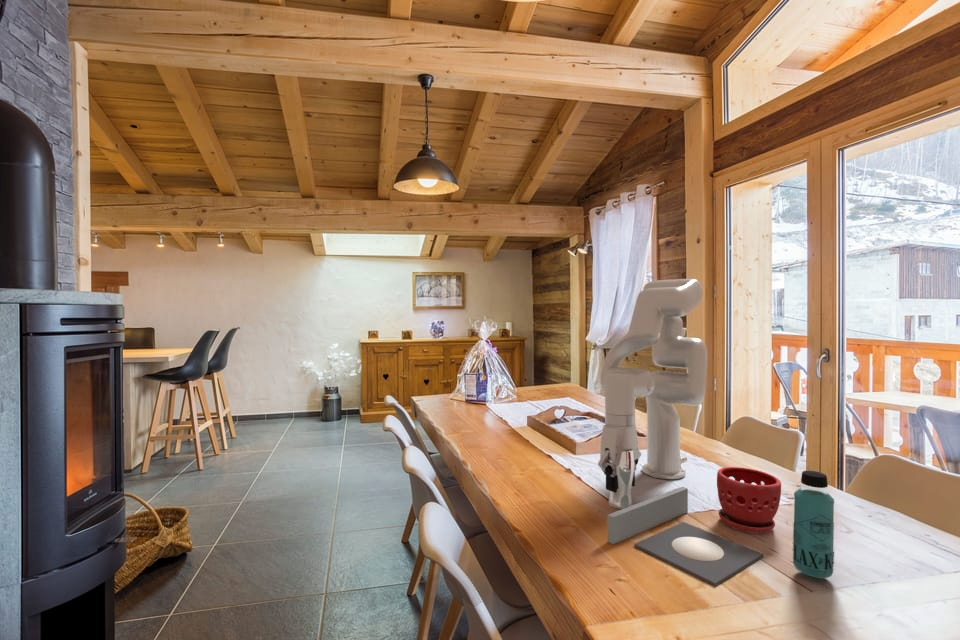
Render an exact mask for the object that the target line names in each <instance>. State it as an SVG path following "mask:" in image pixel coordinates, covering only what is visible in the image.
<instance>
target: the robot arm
mask: <svg viewBox="0 0 960 640" xmlns="http://www.w3.org/2000/svg"><path fill="white" fill-rule="evenodd" d="M703 294H704V293H703V286H702V284H701V283H700V281H698V280H697V279H695V278H680V279H679V278H678V279H657V280H652V281H649V282H647V283H645V284H644V286H643V290H641V291H640V292H639V293H638V294H637V296H636V300H635V304H634V307H633V313H632V316H631V320H630V323H629V328H628V331H627V333H626V334H625V335H624V336H621V338H619V340H617V342H615V343H614V345H613V346H612V347H611V348H610V349H609V350H608V351H607V353H606V355H605V357H604V361H603V365H602V368H601V374H600V386H601V389H602V390H603V391H604V403H605V404H604V411H605V412H604V419H605V420H604V424H603V426H602V430H601V437H600V451H599V453H600V454H599V457H600V459H599V460H598V464H597V465H598V467H599V469H600V470H601V471H602V472H603V474H604V475H605V489H606V491H609V492H610V491H612V492H614V493H615V492H617V477H615V474H616V466H618V465H619V464H620V459H621V454H622V452H624V451H631V450H632V449H633V453H634V475H633V481H632V487H635V486H636V479H635V478H636V476H635V475H636V471H637V465H638V463H639V461H640V458H641V456H642V452H641V451H640V450H639V441H638V431H637V426H636V398H645V402H646V416H647V417H646V421H647V422H646V423H647V424H646V429H647V430H646V433H647V434H646V438H647V439H646V441H647V443H646V446H647V447H646V452H647V453H646V454H647V455H646V457H647V463H644V464H643V465H642V467H641V468H642V469H641V470H642V472H643V473H644V474H645V475H647V476H650V477H653V478H657V479H661V480H679V479H682V478H684V477H685V476H686V475H687V473H686V470H685V469H684V467H682V464H684V463H687V462H688V458H687V456H686V455H682V456H681V426H680V425H681V419H680V414H679V412H678V410H677V408H676V407H675V404H676V405H684V406H691V407H692V406H694V407H695V406H699V405H701V404H702V403H703V402H704V399H705V396H706V385H707V372H708V371H707V369H708V349H707V345H706V343H705V341H703V340H702V339H700V338H697V337H683V332H684V331H683V327H684V323H683V322H684V321H683V319H682V317H685V316H686V315H689V314H690V313H691V312H692V311H693V310H694V309H696V308H697V307H698V306H699V304H700V303H701V301H702V299H703ZM649 347H651V359H652V360H651V361H652V363H653V364H654V365H655V366H658V367H661V368H674V369H683V370H685V369H686V370H687V372H676V371H666V370H665V371H664V370H663V371H662V370H655V371H651V372H650V371H649V370H647V369H640V368H630V367H620V365H621V363H622V362H623V360H625V359H626V358H627V357H629V356H630V355H632V354H635V353H637V352H639V351H641V350H644V349H647V348H649ZM609 458H610V460H611V461H612V463H609ZM609 465H610V466H613V467H612V471H611V470H610V468H609Z"/></svg>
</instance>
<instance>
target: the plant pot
mask: <svg viewBox="0 0 960 640" xmlns="http://www.w3.org/2000/svg"><path fill="white" fill-rule="evenodd" d="M731 477H732V478H733V479H732V478H731ZM742 481H743V482H742ZM762 482H763V484H762ZM753 483H754V484H753ZM716 489H717V497H718V501H719V505H720V507H721V508H720V509H719V511H718V516H719V519H720V520H721V521H722V522H723V523H724V524H726V525H727V526H728V527H730V528H731V529H732V528H733V529H734V530H738V531H741V532H745V533H750V534H765V533H769V532H771V531H772V530H774V528H775V527H776V522H775V520H774V518H775V516H776V514H777V513H778V510H779V505H780V502H781V496H782V482H781V480H780V479H779V478H778V477H776V476H774V475H772V474H770V473H767V472H764V471H762V470H757V469H752V468H747V467H739V466H728V467H727V466H725V467H722V468H719V469H718V470H717V473H716Z"/></svg>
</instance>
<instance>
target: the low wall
mask: <svg viewBox="0 0 960 640" xmlns="http://www.w3.org/2000/svg"><path fill="white" fill-rule="evenodd" d="M688 491H689V490H688V488H687V487H684V486H680V487H678V488H675V489H672V490H670V491H667V492H664V493H662V494H659V495H657V496H654V497H651V498H648V499H646V500H644V501H640V502H638V503H635V504H633V505H632V506H630V507H627V508H624V509H618V510H617V511H614V512H612V513H609V514H607V542H608V543H609V544H612V545H615V544H618V543H619V542H622V541H624V540H627V539H629V538H631V537H633V536H636V535H639V534H640V533H643V532H645V531H648V530H649V529H651V528H654V527H656V526H659V525H661V524H664V523H666V522H668V521H671V520H673V519H675V518H677V517H680V516H682V515H685V514H686V513H689V509H688V508H689V506H688V505H689V501H688V500H689V497H688V496H689V493H688Z"/></svg>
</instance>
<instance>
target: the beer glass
mask: <svg viewBox="0 0 960 640" xmlns="http://www.w3.org/2000/svg"><path fill="white" fill-rule="evenodd" d="M609 463H612V461H611V460H610V458H609ZM612 467H613V466H610V465H609V468H610V470H611V471H612ZM633 475H634V453H633V449H632V450H631V451H624V452H622V454H621V459H620V464H619V465H618V466H616V474H615V477H617V492H615V493H614V492H612V491H609V498H608V505H609V506H610V507H611V508H614V509H616V510H622V509H624V508H627V507H630V506H632V505H634V504H633V499H632V498H633V497H632V487H633V486H632V481H633Z"/></svg>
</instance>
